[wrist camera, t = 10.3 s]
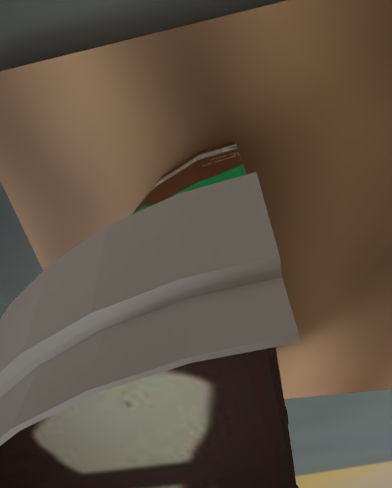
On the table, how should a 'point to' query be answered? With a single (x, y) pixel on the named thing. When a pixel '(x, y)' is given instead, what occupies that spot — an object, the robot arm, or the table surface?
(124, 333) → the food container
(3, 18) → the table surface
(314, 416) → the table surface
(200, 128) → the walnut block
